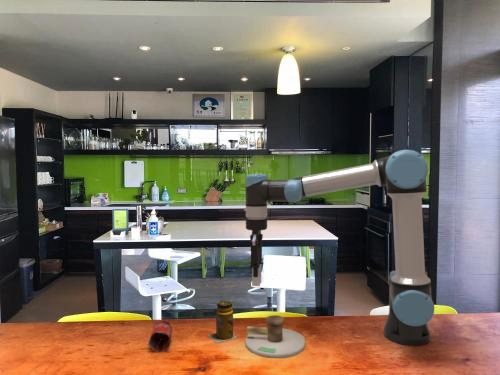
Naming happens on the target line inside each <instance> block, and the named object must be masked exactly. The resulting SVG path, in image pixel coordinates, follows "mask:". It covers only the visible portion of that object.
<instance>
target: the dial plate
mask: <svg viewBox="0 0 500 375" xmlns="http://www.w3.org/2000/svg"><path fill="white" fill-rule="evenodd" d="M282 337H283V339H282V341H280V342H271V341H269V340H268V335H257V334H246V337H245V347H246V349H247V350H248V351H249V352H250V353H251V354H254V355H257V356H260V357H263V358H269V359H282V358H289V357H294V356H296V355H298V354H300V353H301V352H303V351H304V349H305V347H306V339H305V337H304V336H303V335H302V334H301V333H298V332H297V331H295V330H292V329H288V328H283V327H282Z"/></svg>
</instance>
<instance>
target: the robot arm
mask: <svg viewBox="0 0 500 375" xmlns="http://www.w3.org/2000/svg"><path fill="white" fill-rule="evenodd" d="M428 173H429V167H428V162H427V161H426V159H425V157H424V156H423V155H422V154H421V153H419V152H418V151H416V150H412V149H402V150H398V151H396V152H393V153H392V154H391V155H389V156H385V157H382V158H378V159H374V161H372V163H371V162H370V163H367V164H362V165H361V164H360V165H356V166H352V167H346V168H341V169H334V170H331V171H325V172H321V173H320V172H319V173H315V174H314V173H313V174H309V175H304V176H298V177H294V178H288V179H268V175H267V174H266V173H264V174H263V173H260V174H259V173H256V174H255V173H253V174H252V173H251V174H250V173H249V174H247V175H246V177H245V186H244V188H245V190H244V191H245V208H244V209H243V211H244V212H245V217H246V219H245V229H246V230H247V231H251V234H250V235H249V239H250V240H249V242H250V265H249V268H251V287H252V286H253V287H260V286H261V284H262V265H264V261H263V237H264V236H263V233H262V231H265V230H267V229H268V219H267V217H268V202H281V203H282V202H285V203H286V202H287V203H294V202H301V199H302V198H305V197H310V196H317V195H322V194H323V195H324V194H328V193H333V192H335V193H336V192H339V191H345V190H346V191H347V190H351V189H358V188H363V187H369V186H375V185H377V186H378V187H380V188H381V187H385V186H386V194H387V196H389V197H390V198H391V201H392V202H391V205H392V220H393V221H392V222H393V224H392V225H393V242H394V246H393V247H394V264H395V267H394V268H395V270H392V271H390V272H389V277H388V281H389V282H388V284H389V285H388V286H389V288H388V289H389V291H388V292H389V296H388V298H389V302H388V304H389V305H388V306H389V308H388V315H387V318H386V320H385V324H384V325H383V335H384V337H385V338H386V339H388V340H389V341H392V342H394V343H397V344H401V345H407V346H424V345H427V344H428V343H429V344H430V341H431V331H430V329H429V326H428V323H429V322H430V321H431V319H432V318H434V314H435V304H434V301H433V299H432V297H433V296H432V285H431V284H432V282H431V278H430V277H428V276H427V275H426V269H425V268H426V267H425V266H426V265H425V243H424V227H423V226H424V224H423V223H424V222H423V220H424V219H423V202H422V201H423V200H422V199H423V197H424V196H425V195H426V194H427V193H428V192H427V176H428Z"/></svg>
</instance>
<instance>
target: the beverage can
mask: <svg viewBox="0 0 500 375" xmlns="http://www.w3.org/2000/svg"><path fill="white" fill-rule="evenodd" d="M172 335H173V328H172V325H171V324H170V323H169V321H167V320H160V321H158V322H156V323H155V324H154V326H153V328H152V331H151V334H150V338H149V340H148V344H147V345H148V346H149V347H150V348H151V350H153V352H156V353H164V352H165V351H167V350H168V349H169V348H170V346H171V339H172ZM160 339H161V340H163V348H162V350H161V351H159V349H160V345H159V342H160V343H161V341H160ZM164 340H165V341H164Z"/></svg>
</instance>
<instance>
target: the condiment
mask: <svg viewBox="0 0 500 375" xmlns="http://www.w3.org/2000/svg"><path fill="white" fill-rule="evenodd" d="M215 322H216V323H215V333H211V334H207V335H206V336H208V338H209V339H211V340H212V341H213V342H214V343H216V344H219V343H221V342H227V341H231V340H233V339H238V336H237V335H235V334H234V311H233V303H232V302H231V301H228V300H222V301H219V302H218V303H217V304H216V311H215Z"/></svg>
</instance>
